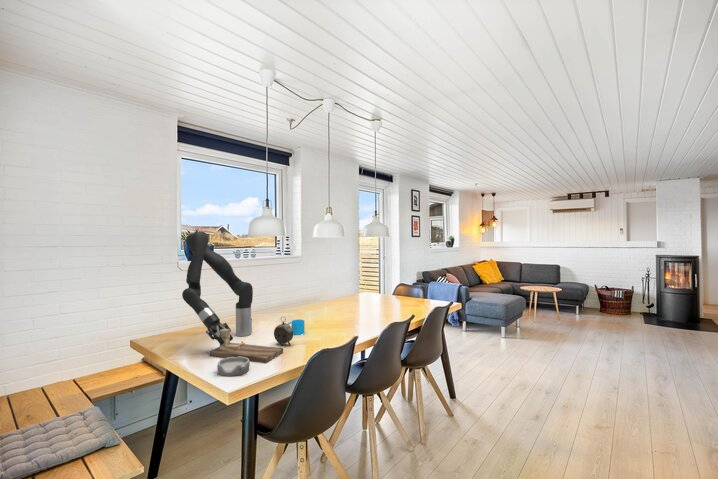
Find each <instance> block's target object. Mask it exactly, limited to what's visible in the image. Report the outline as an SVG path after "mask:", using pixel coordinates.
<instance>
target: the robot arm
mask: <svg viewBox="0 0 718 479" xmlns="http://www.w3.org/2000/svg"><path fill="white" fill-rule="evenodd" d="M185 241H186V242H185V243H186V244H187V246H188V247H189V248H190V249H191V250H192V251H193V256H192V258H191V261H190V262H189V265H188V267H187V271H186V272H187V273H186V284H187V285H188V287H187V288H185V289H184V290H183V291H182V295H181V296H182V299H183V301H184V302H185V303H186V304H187V305H188V306H189V307H190V308H192V310H193V311H194V312H195V314H196V315H197V317H198V318H199V320H200V321H201V322H202V323H203V325H204V326H205V327H206V329H207V330H205V333H206V335H208V336H209V337H210V338H211V340H215V341H217V343H219V345H220V344H221V345H222V344H223V343H224V341H223V339H222V338H221V337H220V330H222V329H230V342H231V341H233V340H234V337H233V336H232V334H231V332H232V329H231V328H230V327H229V324H227V322H224V323H221V322H220V321H221V319H220V317H219V316H218V315H217V314H216V312H215V311H214V310H213V309H212V308H211V307H210V305H209V304H208V303H207V302H206V300H203V299H202V298H201V295H202V289H201V288H202V287H201V276H202V267H203V264H204V262H205V263H206V264H207V265H208V266H209V267H210V268H211V269H212V271H214V273H216V274H217V275H218V276H219V277H220V278H221V279H222V281H224V282H225V283H226V284H227V285H228V286H229V288H230V289H231V290H232V291H233V293H234V294H235V295H236V296H238V301H237V302H236V304H235V336H236V337H247V336H250V335H251V334H252V333H253V327H252V326H253V319H252V303H253V296H254V295H253V294H254V292H253V291H254V288H253V286H252V284H251V283H249V282H245V281H243V280H241V278H240V277H238V276H237V275H236V273H235V271H234V269H233V267H232V265H231V264H230V262H228V261H227V259H226V257H224V256H223V255H221V254H219V253H217V252H215V251H213V250H212V249H210V247H208V246H209V235H208V234H207V232H205V231H201V230H200V231H196V232H192V233H190V234H188V235H187V236H186V238H185Z"/></svg>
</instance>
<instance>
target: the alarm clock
mask: <svg viewBox="0 0 718 479" xmlns="http://www.w3.org/2000/svg"><path fill="white" fill-rule="evenodd" d="M282 318H284V321H282V320H280V322H282V323H280V324H278V325H277V326H276V327H274V330H273V337H274V339H275V340H276V342H277V344H279V346H280V347H281V346H282V345H283V344H284V345H286V344H287V343H288V345H289V346H291V343H290V342H291V341H292V340H293V337H294V335H293V330H292V326H290V324H289V325H288V323H285V322H286V321H287V320H286V319H287V318H286V317H285V316H281V317H280V319H282Z"/></svg>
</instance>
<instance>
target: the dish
mask: <svg viewBox="0 0 718 479" xmlns="http://www.w3.org/2000/svg"><path fill="white" fill-rule="evenodd" d="M250 362H251V361H249V359H248V358H245V357H241V356H238V357H228V358H220V360H218V361H217V372H218V374H219V375H221V376H226V377H233V376H234V377H235V376H240V375H243V374H244V375H245V373H247V372H248V371H249V369H250V367H251V366H250Z"/></svg>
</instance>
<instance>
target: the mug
mask: <svg viewBox="0 0 718 479" xmlns="http://www.w3.org/2000/svg"><path fill="white" fill-rule="evenodd" d="M287 324H288V325H290V324H291V328H292V330H293V336H302V335H301V334H303V335H304V334H305V319H292V320H291V321H290V322H288V323H287Z"/></svg>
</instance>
